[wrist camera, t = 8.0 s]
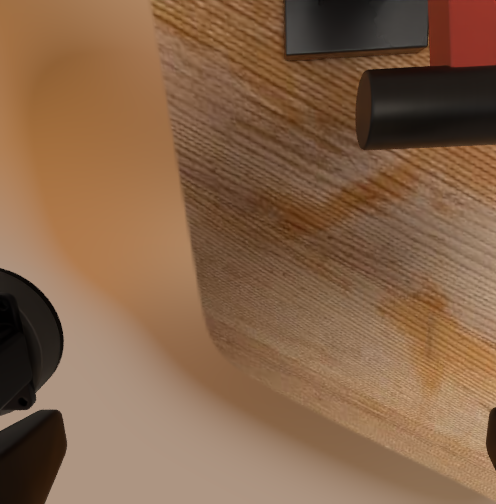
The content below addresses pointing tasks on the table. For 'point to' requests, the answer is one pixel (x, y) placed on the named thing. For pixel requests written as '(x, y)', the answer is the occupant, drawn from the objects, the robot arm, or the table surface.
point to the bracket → (354, 28)
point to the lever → (436, 86)
